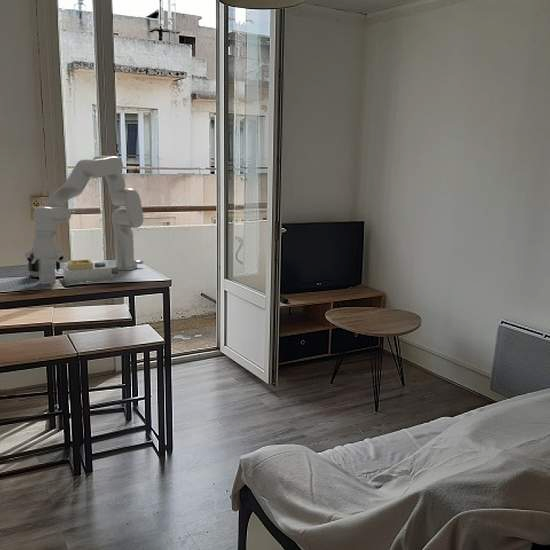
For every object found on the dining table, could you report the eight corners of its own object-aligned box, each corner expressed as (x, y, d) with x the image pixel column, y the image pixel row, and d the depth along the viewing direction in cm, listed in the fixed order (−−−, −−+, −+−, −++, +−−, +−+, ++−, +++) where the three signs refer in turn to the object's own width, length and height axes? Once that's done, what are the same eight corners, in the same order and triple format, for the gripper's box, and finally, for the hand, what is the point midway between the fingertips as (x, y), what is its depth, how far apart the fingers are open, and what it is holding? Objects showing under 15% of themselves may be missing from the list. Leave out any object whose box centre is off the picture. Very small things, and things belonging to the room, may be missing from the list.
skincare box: (52, 281, 255) (50, 256, 253) (56, 282, 252) (54, 257, 250) (39, 282, 251) (37, 257, 249) (42, 284, 248) (40, 258, 246)
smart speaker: (53, 274, 271) (51, 243, 268) (49, 278, 261) (47, 247, 258) (30, 274, 268) (28, 244, 265) (26, 279, 259) (24, 247, 255)
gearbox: (114, 274, 274) (113, 257, 272) (120, 279, 262) (119, 262, 260) (63, 277, 263) (62, 260, 261) (67, 283, 251) (66, 265, 249)
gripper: (63, 232, 254) (65, 268, 257) (22, 233, 246) (25, 270, 250) (65, 234, 248) (67, 271, 251) (23, 235, 240) (26, 273, 243)
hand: (46, 271), depth 250 cm, fingers open, 9 cm apart
